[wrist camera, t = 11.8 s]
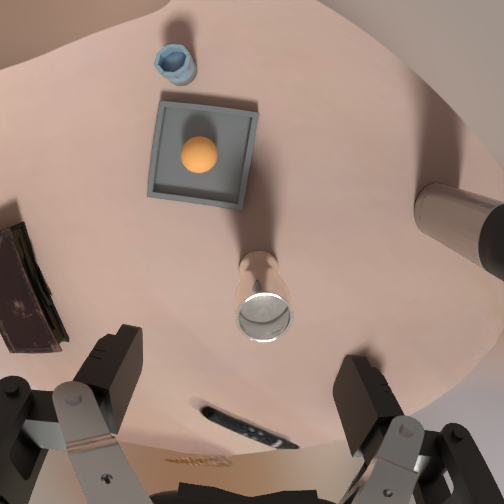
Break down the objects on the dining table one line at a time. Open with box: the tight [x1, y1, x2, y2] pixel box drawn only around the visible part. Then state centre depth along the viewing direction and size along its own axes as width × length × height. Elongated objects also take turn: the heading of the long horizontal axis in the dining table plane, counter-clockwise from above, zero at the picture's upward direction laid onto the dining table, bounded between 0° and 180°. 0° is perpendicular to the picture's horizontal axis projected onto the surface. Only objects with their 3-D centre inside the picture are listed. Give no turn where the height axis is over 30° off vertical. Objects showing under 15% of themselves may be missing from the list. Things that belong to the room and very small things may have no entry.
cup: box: [154, 44, 197, 86], centre depth 36 cm, size 4×4×7 cm
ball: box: [181, 136, 218, 173], centre depth 40 cm, size 5×5×5 cm
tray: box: [147, 101, 259, 210], centre depth 42 cm, size 14×14×2 cm
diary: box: [0, 222, 69, 353], centre depth 48 cm, size 19×25×5 cm
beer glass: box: [234, 251, 293, 342], centre depth 42 cm, size 7×7×15 cm
